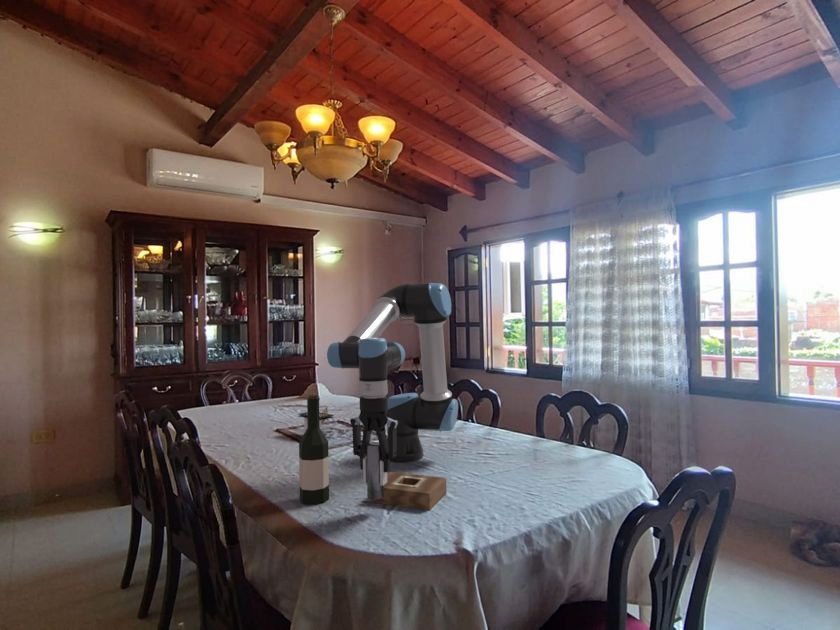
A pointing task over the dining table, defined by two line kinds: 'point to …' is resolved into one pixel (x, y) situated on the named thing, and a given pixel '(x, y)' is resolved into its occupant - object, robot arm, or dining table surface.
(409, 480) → the socket
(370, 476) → the peg
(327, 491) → the wine bottle
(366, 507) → the dining table surface
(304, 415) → the architectural model
